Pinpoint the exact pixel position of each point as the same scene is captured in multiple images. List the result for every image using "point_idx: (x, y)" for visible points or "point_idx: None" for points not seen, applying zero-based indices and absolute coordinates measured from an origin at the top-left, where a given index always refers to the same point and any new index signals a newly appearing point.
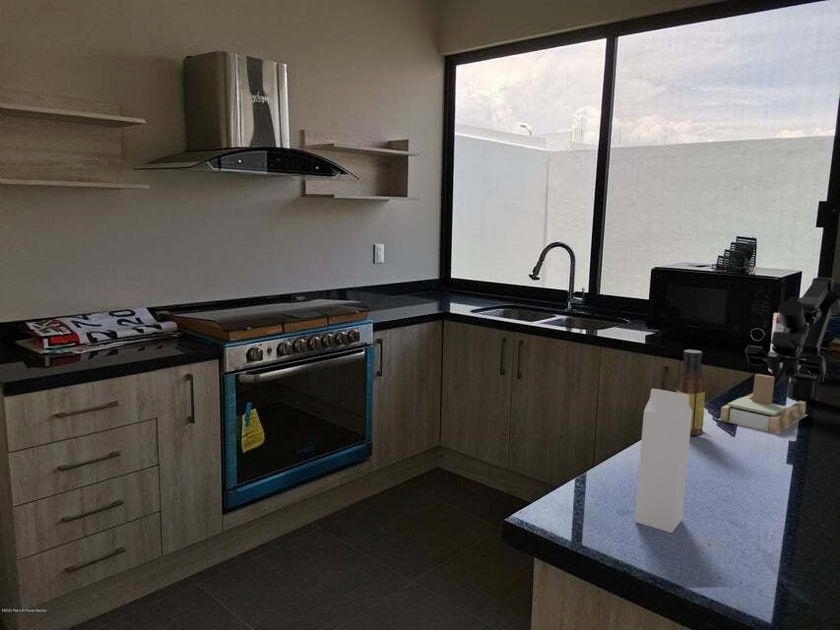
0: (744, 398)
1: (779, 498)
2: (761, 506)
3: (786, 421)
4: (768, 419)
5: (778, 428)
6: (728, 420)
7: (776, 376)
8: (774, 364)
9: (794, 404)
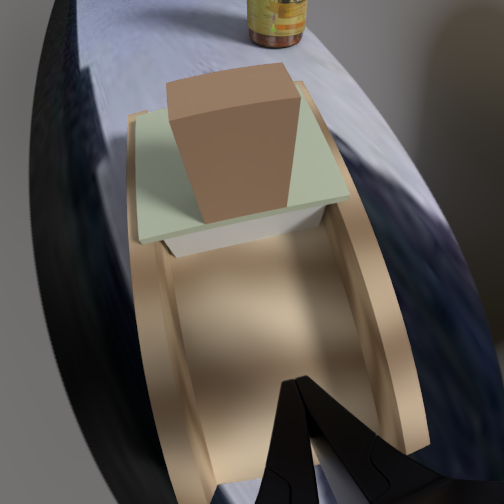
0: (331, 193)
1: (83, 18)
2: (94, 5)
3: None
4: None
5: None
6: None
7: (317, 429)
8: (418, 497)
9: (175, 403)
